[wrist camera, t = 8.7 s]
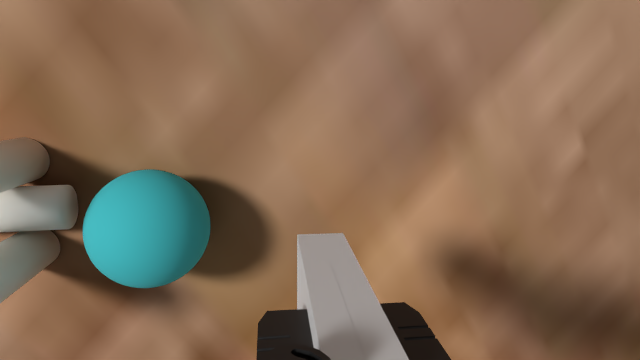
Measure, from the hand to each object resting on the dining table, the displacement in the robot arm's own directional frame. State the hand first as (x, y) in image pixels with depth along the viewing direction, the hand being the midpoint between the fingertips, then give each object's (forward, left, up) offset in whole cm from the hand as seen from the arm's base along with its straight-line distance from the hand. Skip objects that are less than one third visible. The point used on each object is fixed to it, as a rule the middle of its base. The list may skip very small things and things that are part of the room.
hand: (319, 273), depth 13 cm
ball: (+8, +1, -9) cm, 12 cm away
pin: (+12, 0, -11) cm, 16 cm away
